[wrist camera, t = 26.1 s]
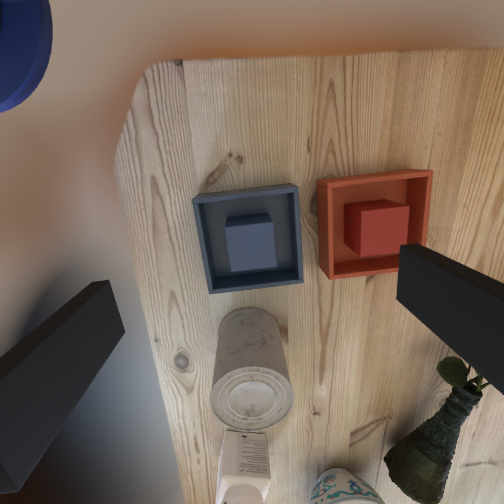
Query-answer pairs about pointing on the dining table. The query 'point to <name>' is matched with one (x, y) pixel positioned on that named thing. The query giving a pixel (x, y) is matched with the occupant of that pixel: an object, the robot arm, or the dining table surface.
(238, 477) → the container
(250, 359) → the grey tin can
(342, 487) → the chinaware
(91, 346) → the robot arm
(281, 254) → the blue bin
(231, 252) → the blue block
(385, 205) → the red block
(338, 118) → the dining table surface
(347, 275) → the red bin
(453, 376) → the flower vase
